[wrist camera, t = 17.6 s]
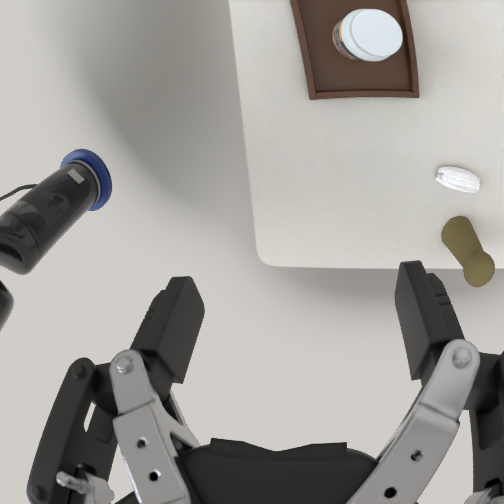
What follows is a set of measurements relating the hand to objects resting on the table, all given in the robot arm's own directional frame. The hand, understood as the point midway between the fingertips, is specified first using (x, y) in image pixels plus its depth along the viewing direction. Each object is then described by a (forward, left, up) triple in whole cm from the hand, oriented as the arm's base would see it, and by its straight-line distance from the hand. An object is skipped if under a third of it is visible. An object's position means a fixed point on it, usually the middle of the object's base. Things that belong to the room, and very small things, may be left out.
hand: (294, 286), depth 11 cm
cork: (+24, -18, -29) cm, 42 cm away
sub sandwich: (+22, -8, -29) cm, 37 cm away
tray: (+8, +18, -28) cm, 34 cm away
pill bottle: (+8, +10, -28) cm, 31 cm away
